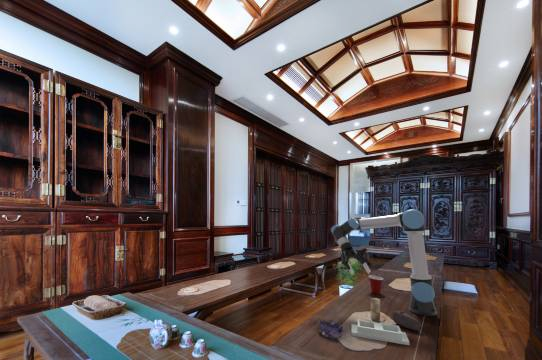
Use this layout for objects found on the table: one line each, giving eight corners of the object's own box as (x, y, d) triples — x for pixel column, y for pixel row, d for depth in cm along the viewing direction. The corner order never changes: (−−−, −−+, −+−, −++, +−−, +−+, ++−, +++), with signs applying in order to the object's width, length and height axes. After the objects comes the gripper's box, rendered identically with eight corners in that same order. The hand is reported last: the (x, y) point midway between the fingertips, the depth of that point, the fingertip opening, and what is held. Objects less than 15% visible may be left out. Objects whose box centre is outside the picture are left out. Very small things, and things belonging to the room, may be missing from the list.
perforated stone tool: (424, 332, 133) (423, 318, 134) (419, 334, 131) (418, 320, 131) (397, 321, 146) (396, 308, 147) (391, 323, 143) (391, 310, 144)
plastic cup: (385, 295, 192) (385, 279, 193) (370, 294, 194) (369, 278, 195) (382, 291, 202) (381, 275, 204) (367, 290, 205) (367, 274, 206)
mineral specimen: (317, 338, 124) (317, 329, 124) (321, 325, 137) (321, 317, 137) (341, 343, 120) (341, 333, 121) (342, 329, 133) (342, 321, 134)
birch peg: (379, 320, 147) (379, 298, 148) (380, 323, 142) (380, 301, 143) (370, 318, 148) (370, 297, 150) (371, 322, 143) (370, 300, 145)
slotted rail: (405, 335, 129) (405, 326, 129) (409, 345, 119) (409, 335, 120) (351, 327, 137) (351, 318, 137) (351, 335, 127) (351, 325, 128)
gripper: (356, 248, 180) (372, 275, 165) (327, 248, 170) (342, 277, 155) (361, 241, 176) (379, 268, 161) (333, 241, 166) (348, 271, 151)
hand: (361, 273), depth 158 cm, fingers open, 13 cm apart
